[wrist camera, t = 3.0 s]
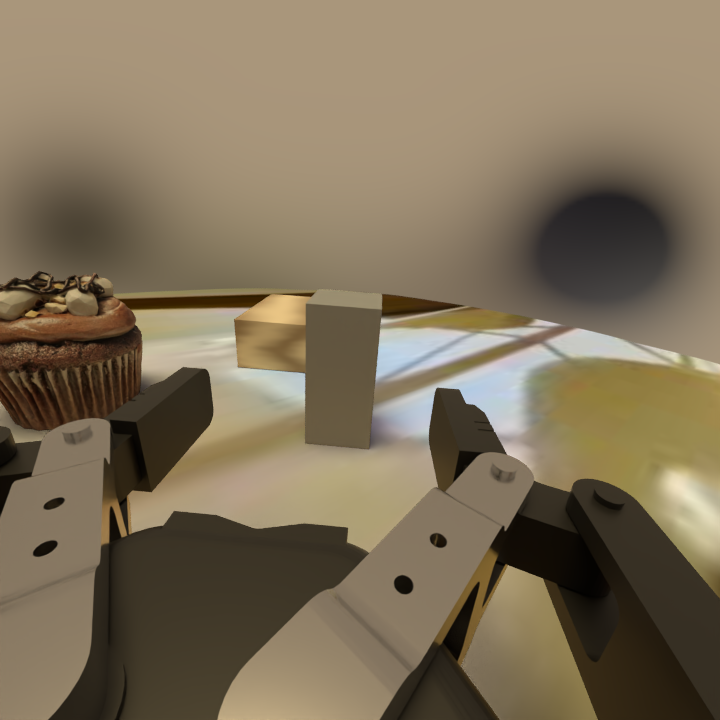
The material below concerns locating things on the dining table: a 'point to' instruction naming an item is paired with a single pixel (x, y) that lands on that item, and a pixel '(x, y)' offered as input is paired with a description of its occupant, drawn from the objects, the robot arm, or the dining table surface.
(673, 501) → the dining table surface
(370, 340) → the grey block
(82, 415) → the cupcake
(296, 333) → the birch plinth
